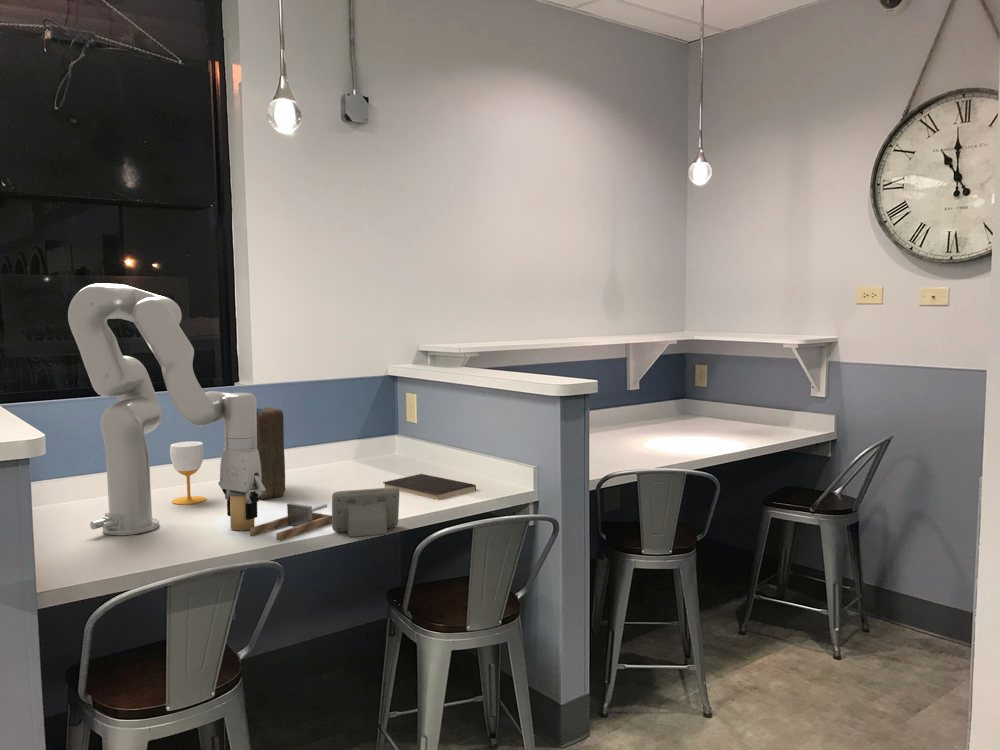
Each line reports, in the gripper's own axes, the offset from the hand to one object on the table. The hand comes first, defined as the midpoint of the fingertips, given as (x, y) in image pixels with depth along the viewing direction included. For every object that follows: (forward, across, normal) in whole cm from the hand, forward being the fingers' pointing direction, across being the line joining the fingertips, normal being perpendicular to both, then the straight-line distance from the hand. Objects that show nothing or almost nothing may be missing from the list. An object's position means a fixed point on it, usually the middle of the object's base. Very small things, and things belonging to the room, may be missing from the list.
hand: (242, 515), depth 200 cm
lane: (+3, +11, +5) cm, 13 cm away
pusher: (+2, +11, +12) cm, 17 cm away
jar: (+3, 0, 0) cm, 3 cm away
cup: (+4, -34, +12) cm, 37 cm away
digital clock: (+3, +28, +13) cm, 31 cm away
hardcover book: (+3, +16, +56) cm, 59 cm away
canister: (+3, -24, +28) cm, 37 cm away
